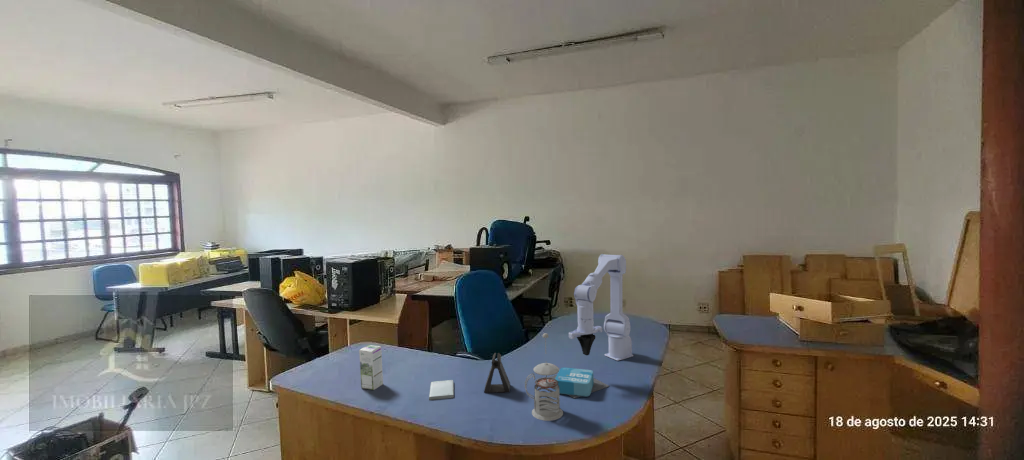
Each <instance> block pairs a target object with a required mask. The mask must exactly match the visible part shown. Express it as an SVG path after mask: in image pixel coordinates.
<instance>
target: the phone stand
mask: <svg viewBox="0 0 1024 460" xmlns="http://www.w3.org/2000/svg"><path fill="white" fill-rule="evenodd" d="M496 355H497V356H496ZM495 369H497V370H498V373H499V377H500V381H501V383H498V384H497V383H496V384H495V383H493V384H492V381H493V376H494V373H495ZM510 390H511V382H510V380H509V378H508V375H507V372H506V369H505V367H504V365H503V362H502V354H501V353H500V352H498V353H496V352H494V354H493V355H492V359H491V367H490V370H489V372H488V375H487V379H486V382H485V385H484V390H483V394H495V393H499V394H500V393H501V394H503V393H504V394H506V393H511V391H510Z"/></svg>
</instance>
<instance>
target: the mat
mask: <svg viewBox="0 0 1024 460" xmlns="http://www.w3.org/2000/svg"><path fill="white" fill-rule="evenodd" d="M556 376H557V374H554V375H550V376H547V378H554V379H555V378H556ZM609 387H610V385H608V384H607V383H604V382H603V381H600V380H598V379H597V378H595V377H594V384H593V387H592V391H591V393H595V392H597V391H602V390H603V389H606V388H609ZM566 395H568V396H569V397H571V398H572V399H578V398H579V397H581V396H577V395H569V394H566Z"/></svg>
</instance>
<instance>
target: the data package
mask: <svg viewBox="0 0 1024 460" xmlns="http://www.w3.org/2000/svg"><path fill="white" fill-rule="evenodd" d="M556 375H557V376H556V378H555V379H556V380H557V381H558V385H559V395H560V394H561V395H567V394H569V395H577V396H580V397H589V396H591V391H592V387H593V384H594V378H595V377H594V370H592V369H584V368H575V367H574V368H572V367H560V368H559V372H558V373H557V374H556ZM554 391H556V390H554ZM569 395H568V396H569Z"/></svg>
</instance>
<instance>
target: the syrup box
mask: <svg viewBox="0 0 1024 460" xmlns="http://www.w3.org/2000/svg"><path fill="white" fill-rule="evenodd" d="M358 352H359V353H358V354H359V368H360V369H359V370H360V388H361V389H362V390H363V389H364V390H372V391H375V390H377V389H379V387H381V386H383V384H384V375H383V357H382V355H383V354H382V352H383V351H382V345H381V346H380V345H365V346H364V347H362V348H361V349H359V350H358Z"/></svg>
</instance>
